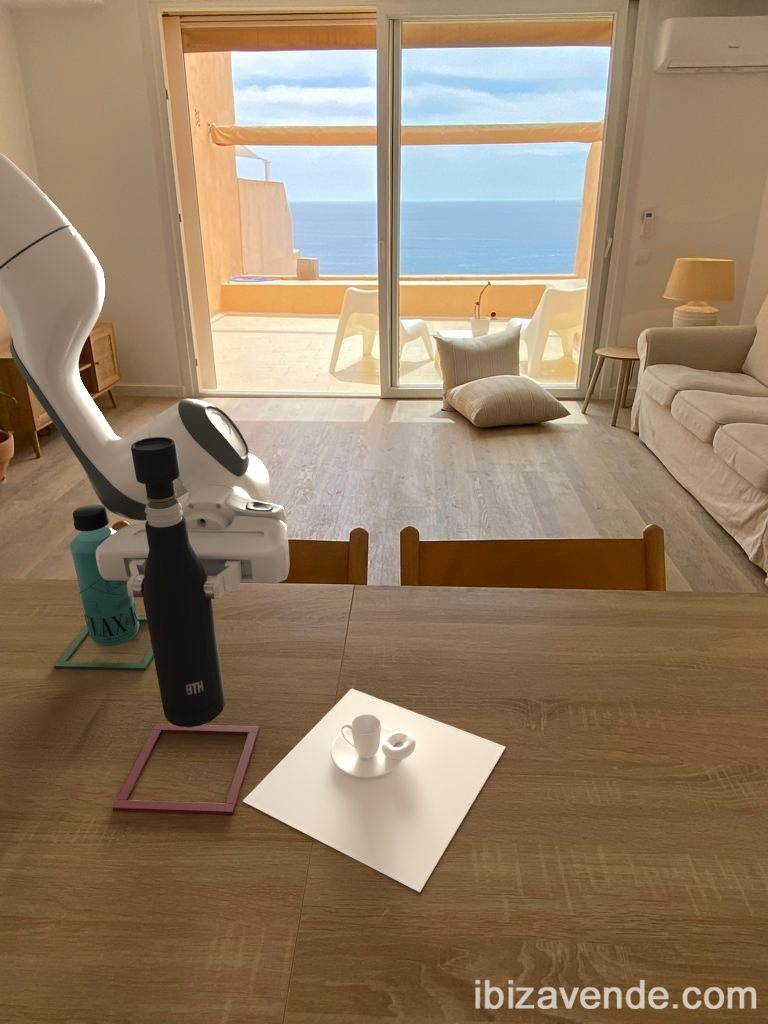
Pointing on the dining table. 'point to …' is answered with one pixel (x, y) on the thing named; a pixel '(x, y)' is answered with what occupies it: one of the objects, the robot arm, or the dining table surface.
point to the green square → (100, 665)
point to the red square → (188, 807)
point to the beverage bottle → (100, 582)
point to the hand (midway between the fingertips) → (173, 592)
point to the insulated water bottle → (176, 596)
